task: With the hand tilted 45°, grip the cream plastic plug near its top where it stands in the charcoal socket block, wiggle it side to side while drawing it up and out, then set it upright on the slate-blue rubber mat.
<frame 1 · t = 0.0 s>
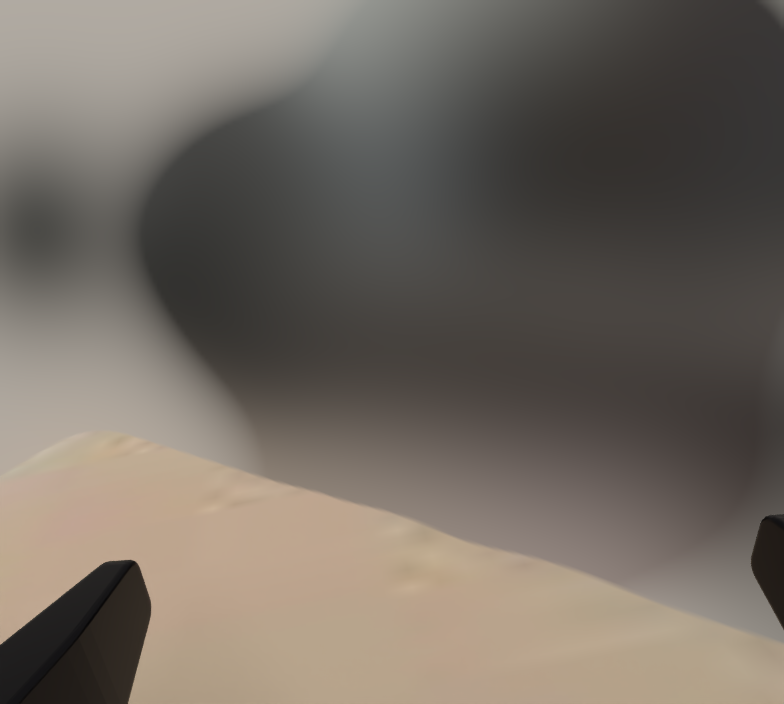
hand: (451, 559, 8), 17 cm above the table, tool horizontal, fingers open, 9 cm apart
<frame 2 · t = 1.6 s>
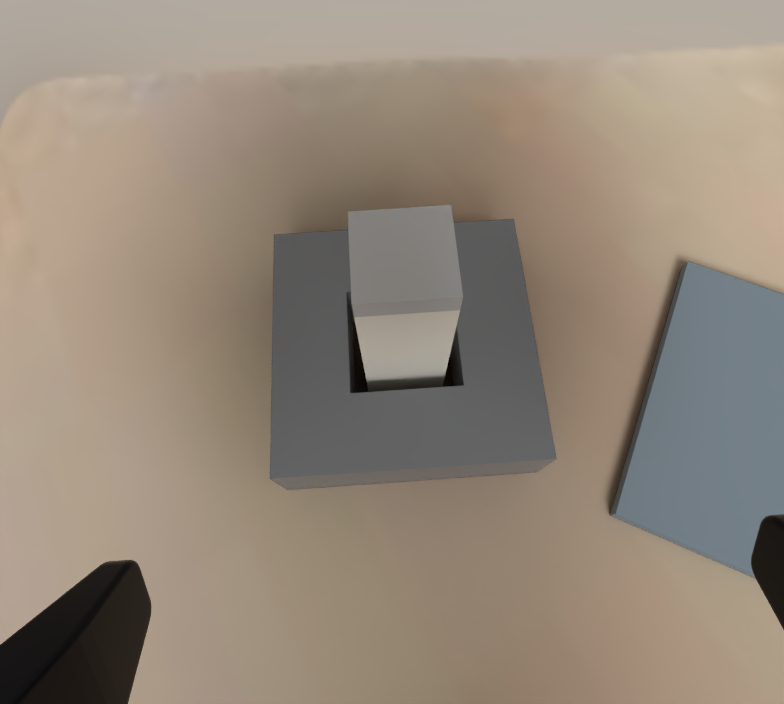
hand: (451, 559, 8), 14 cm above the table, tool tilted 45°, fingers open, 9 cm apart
socket block: (402, 363, 23), on the table
plug: (402, 320, 19), in the socket block
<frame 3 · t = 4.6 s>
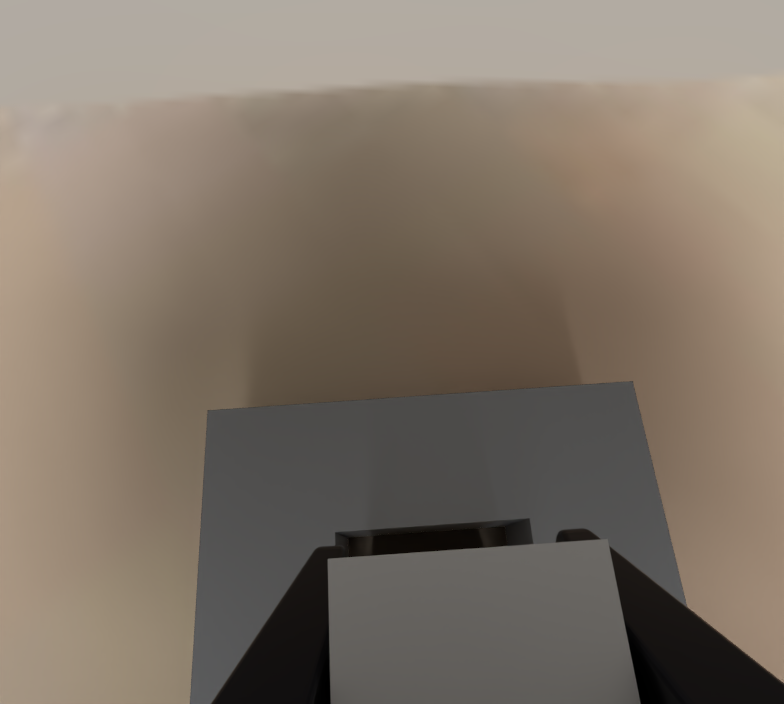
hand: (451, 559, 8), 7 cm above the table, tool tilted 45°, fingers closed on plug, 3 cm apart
socket block: (433, 619, 14), on the table
plug: (448, 645, 9), in the socket block, touching gripper
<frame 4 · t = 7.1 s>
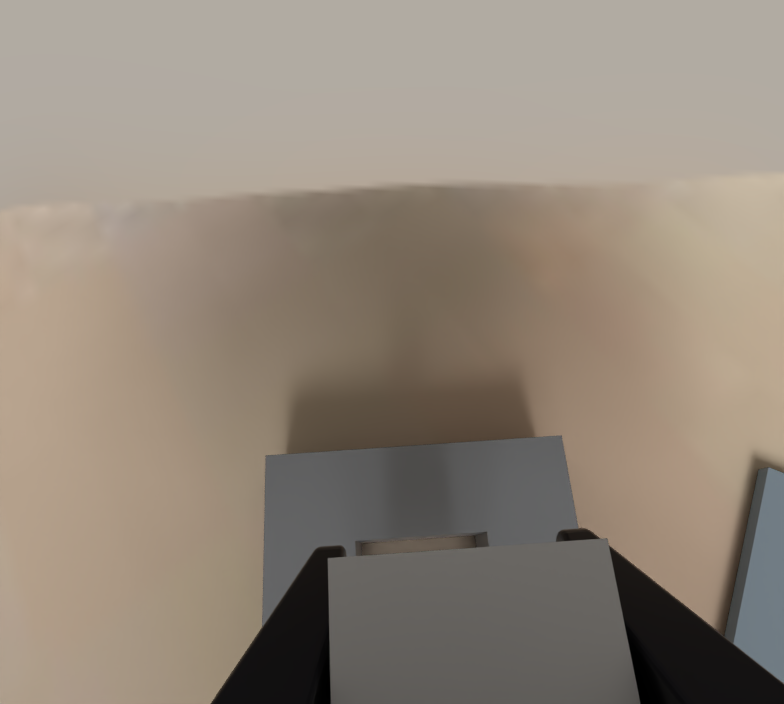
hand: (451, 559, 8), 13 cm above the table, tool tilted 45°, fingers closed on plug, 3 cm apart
socket block: (423, 601, 19), on the table
plug: (448, 644, 9), point 10 cm above the table, touching gripper
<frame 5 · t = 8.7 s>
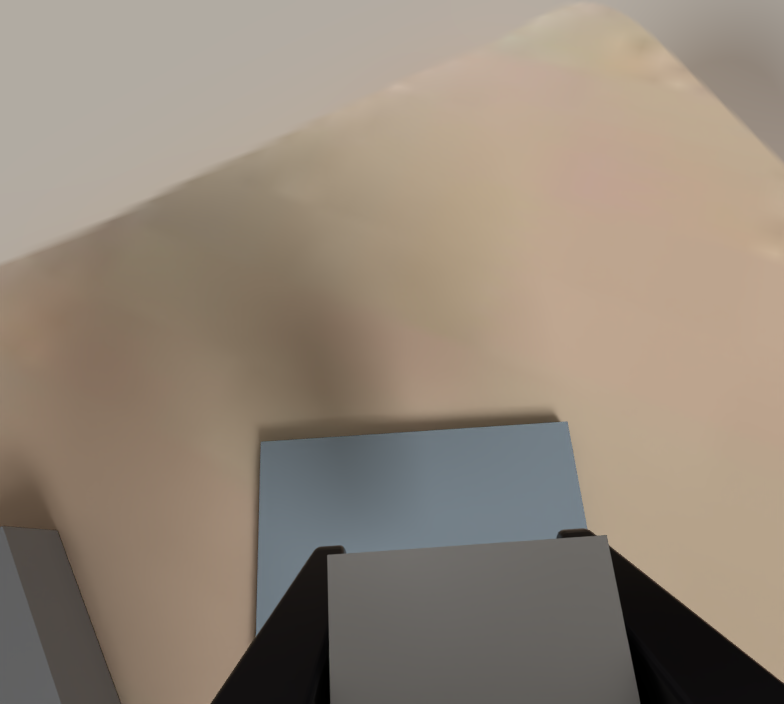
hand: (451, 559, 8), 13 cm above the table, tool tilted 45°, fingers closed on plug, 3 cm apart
mat: (427, 599, 19), on the table
plug: (447, 642, 9), point 11 cm above the table, touching gripper
when the fingers open (9 cm above the table, at t = 9.9 s): plug drops 1 cm, resting on mat.
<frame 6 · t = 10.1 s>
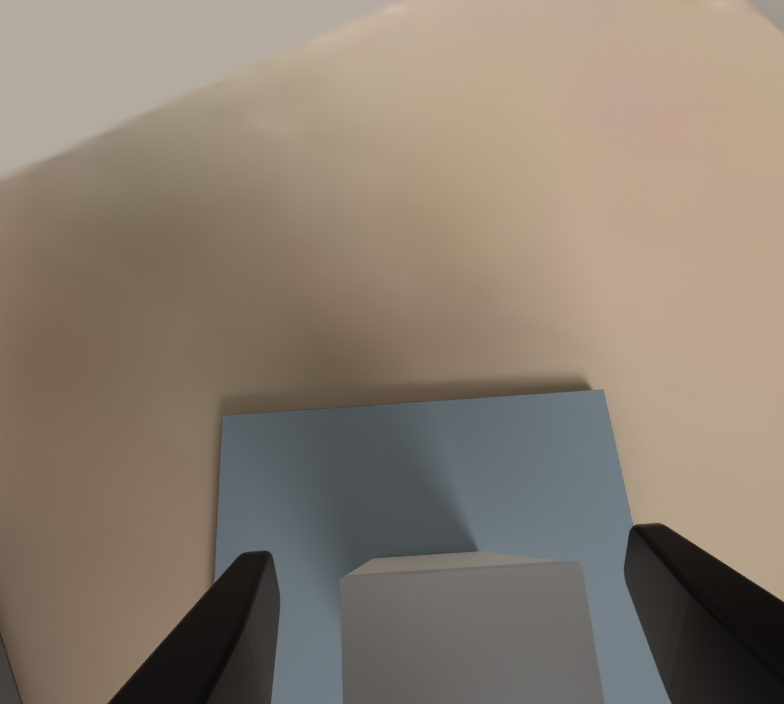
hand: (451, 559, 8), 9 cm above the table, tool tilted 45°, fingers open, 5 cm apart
mat: (430, 611, 15), on the table
plug: (444, 642, 10), on the mat, point 5 cm above the table
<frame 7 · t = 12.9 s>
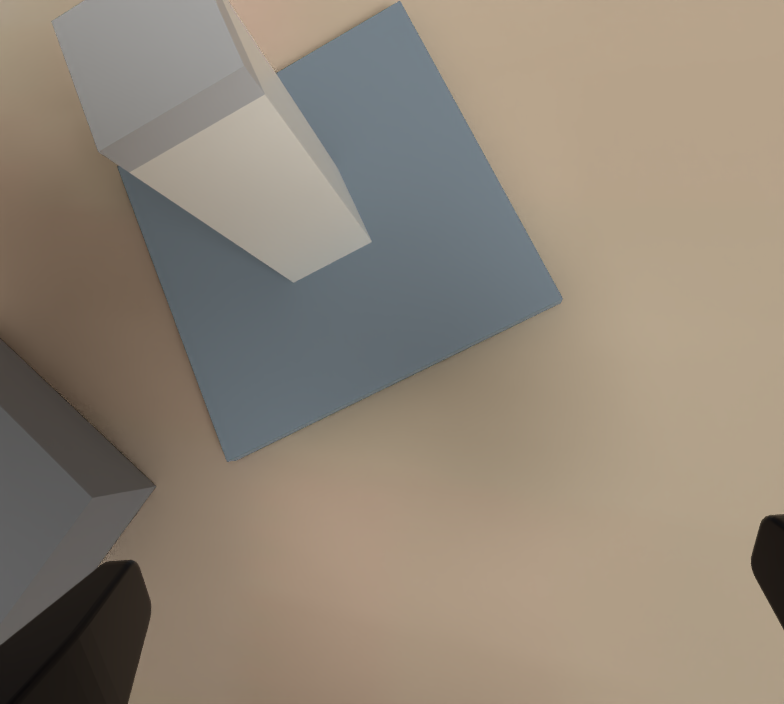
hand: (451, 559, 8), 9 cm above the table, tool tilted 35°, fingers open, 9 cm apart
mat: (321, 231, 19), on the table
plug: (256, 162, 14), on the mat, point 5 cm above the table
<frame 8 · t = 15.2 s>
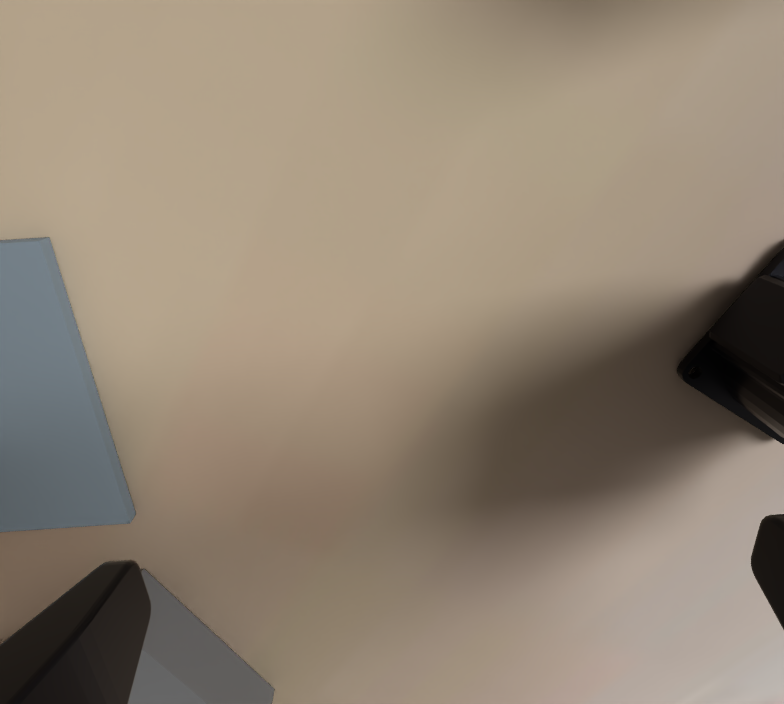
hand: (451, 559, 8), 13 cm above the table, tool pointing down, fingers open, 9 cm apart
socket block: (135, 671, 27), on the table
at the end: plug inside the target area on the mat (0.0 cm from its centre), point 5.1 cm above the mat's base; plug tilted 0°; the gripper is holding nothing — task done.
